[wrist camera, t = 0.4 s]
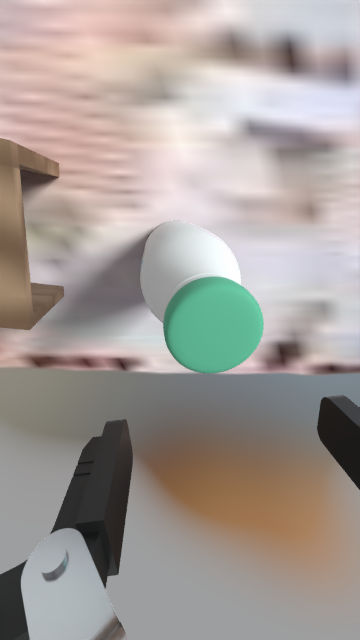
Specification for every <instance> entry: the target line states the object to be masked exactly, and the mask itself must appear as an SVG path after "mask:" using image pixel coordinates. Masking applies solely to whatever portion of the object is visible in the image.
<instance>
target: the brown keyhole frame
mask: <svg viewBox="0 0 360 640" xmlns="http://www.w3.org/2000/svg"><path fill="white" fill-rule="evenodd" d="M20 170H25V171H30V172H35V173H40V174H45V175H51V176H56V177H59V163H57V162H55V161H53V160H51V159H49V158H46V157H44V156H42V155H40V154H38V153H36V152H34V151H31V150H29V149H27V148H25V147H23V146H21V145H19V144H16V143H14V142H12V141H10V140H6V139H1V138H0V327H2V328H13V329H24V330H30V329H31V328H32V327H33V326H34V325H35V324H36V323H37V322H38V321H39V320H40V319H41V318H42V317H43V316H44V315H45V314H46V313H47V312H48V311H49V310H50V309H51V308H52V307H53V306H54V305H55V304H56V303H57V302H58V301H59V300H60V299H61V298H62V297H63V296H64V289H63V287H61V286H53V285H45V284H37V283H30V273H29V262H28V252H27V241H26V231H25V220H24V210H23V199H22V189H21V178H20Z"/></svg>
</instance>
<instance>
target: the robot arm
mask: <svg viewBox="0 0 360 640" xmlns="http://www.w3.org/2000/svg"><path fill="white" fill-rule="evenodd" d="M317 430H318V435H319V437H320V440H321V441H322V443H323V444H324V445H325V447H326V448H327V449H328V451H329V452H330V453H331V455H332V456H333V457H334V458H335V460H336V461H337V462H338V463H339V465H340V466H341V467H342V468H343V469H344V471H345V472H346V473H347V474H348V476H349V477H350V478H351V480H352V481H353V482H354V483H355V485H356V486H357V487H358V488H359V490H360V407H358V406H357V405H355V404H354V403H353V402H352V401H351V400H350V399H348V398H347V397H346V396H343V395H341V396H331V397H324V398H322V400H321V404H320V411H319V418H318V426H317ZM132 462H133V454H132V445H131V440H130V435H129V429H128V424H127V420H126V419H123V420H115V421H107V422H106V424H105V427H104V431H103V434H102V436H100V437H93V438H92V439H91V440H90V441H89V442H88V444H87V445H86V446H85V447H84V449H83V450H82V453H81V456H80V459H79V461H78V466H77V467H76V469H75V472H74V476H73V478H72V480H71V483H70V485H69V488H68V490H67V493H66V496H65V498H64V501H63V504H62V506H61V509H60V512H59V514H58V517H57V519H56V522H55V525H54V527H53V530H52V532H51V534H50V535H49V536H48V537H46V538H45V539H44V540H43V541H42V542H41V543H40V544H39V545H38V546H37V547H36V548H35V549H34V551H33V552H32V554H31V555H30V557H29V558H28V560H26V561H25V562H23V563H22V564H20V565H18V566H16V567H15V568H13V569H11V570H9V571H7V572H5V573H3V574H0V640H128V637H127V635H126V633H125V630H124V628H123V626H122V625H121V623H120V622H119V620H118V618H117V616H116V614H115V612H114V609H113V607H112V605H111V602H110V600H109V597H108V595H107V593H106V590H105V588H106V582H107V576H111V575H118V573H119V565H120V557H121V550H122V542H123V534H124V526H125V519H126V511H127V503H128V496H129V488H130V480H131V472H132V464H133V463H132Z"/></svg>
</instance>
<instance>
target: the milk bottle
mask: <svg viewBox="0 0 360 640" xmlns="http://www.w3.org/2000/svg"><path fill="white" fill-rule="evenodd" d="M140 283H141V290H142V293H143V297H144V299H145V302H146V304H147V306H148V307H149V309H150V310H151V312H152V313H153V314H154V315H155V316H156V317H157V318H158V319H159V320H160V321H161V322H162V323H163V328H164V336H165V341H166V345H167V347H168V349H169V351H170V353H171V354H172V355H173V357H174V358H175V359H176V360H177V361H178V362H179V363H180V364H181V365H183V366H184V367H186V368H188V369H190V370H193V371H196V372H200V373H218V372H223V371H226V370H229V369H232V368H234V367H236V366H238V365H239V364H241V363H242V362H244V361H245V360H246V359H247V358H248V357H249V356H250V355H251V354H252V353H253V352H254V350H255V349H256V347H257V346H258V344H259V342H260V340H261V337H262V333H263V316H262V312H261V309H260V307H259V304H258V303H257V301H256V300H255V298H254V297H253V296H252V295H251V294H250V293H249V292H248V291H247V290H246V289H245V288H244V287H242V286H241V278H240V271H239V267H238V264H237V261H236V259H235V256H234V255H233V253H232V252H231V250H230V249H229V247H228V246H227V245H226V244H225V243H224V242H223V241H222V240H221V239H220V238H218V237H217V236H215V235H214V234H212V233H211V232H209V231H207V230H205V229H203V228H201V227H199V226H196V225H194V224H192V223H189V222H186V221H180V220H174V221H169V222H166V223H163V224H161V225H160V226H158V227H157V228H156V229H155V230H154V231H153V232H152V233H151V234H150V236H149V238H148V239H147V242H146V244H145V248H144V253H143V257H142V263H141V270H140Z"/></svg>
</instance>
